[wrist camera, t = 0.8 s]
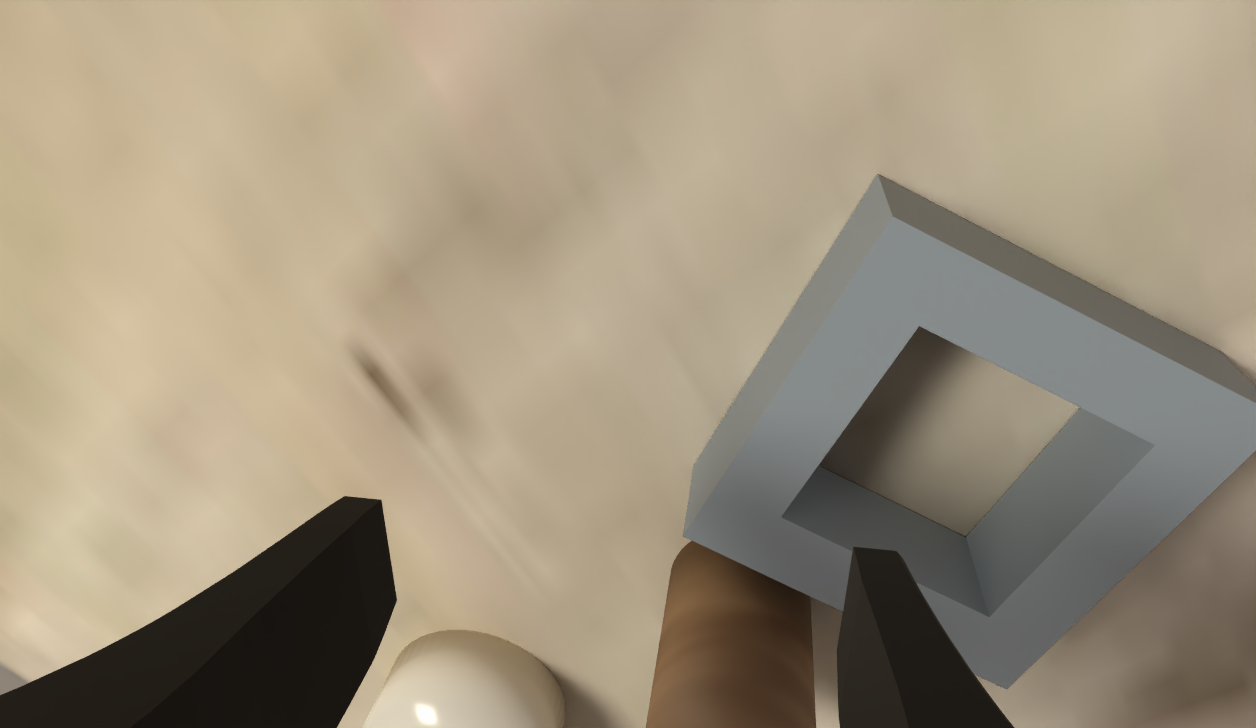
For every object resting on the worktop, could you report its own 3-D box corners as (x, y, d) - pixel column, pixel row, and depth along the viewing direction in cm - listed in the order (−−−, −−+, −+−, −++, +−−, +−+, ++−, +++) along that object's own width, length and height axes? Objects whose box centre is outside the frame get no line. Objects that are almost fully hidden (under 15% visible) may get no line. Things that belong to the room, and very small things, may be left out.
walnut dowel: (836, 567, 25) (851, 747, 19) (766, 655, 27) (763, 840, 21) (709, 506, 24) (690, 672, 19) (647, 600, 26) (615, 774, 21)
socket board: (1221, 352, 20) (1287, 419, 18) (982, 604, 24) (1006, 689, 22) (877, 174, 19) (892, 216, 17) (693, 466, 24) (682, 536, 21)
